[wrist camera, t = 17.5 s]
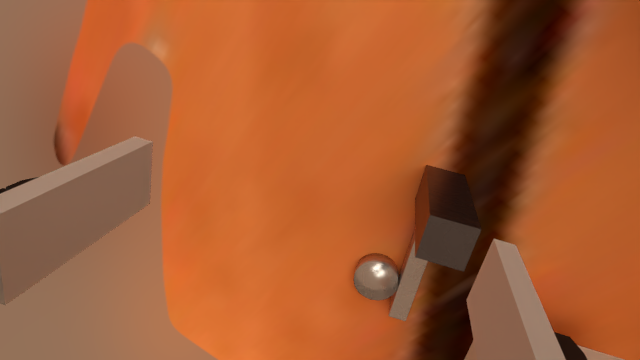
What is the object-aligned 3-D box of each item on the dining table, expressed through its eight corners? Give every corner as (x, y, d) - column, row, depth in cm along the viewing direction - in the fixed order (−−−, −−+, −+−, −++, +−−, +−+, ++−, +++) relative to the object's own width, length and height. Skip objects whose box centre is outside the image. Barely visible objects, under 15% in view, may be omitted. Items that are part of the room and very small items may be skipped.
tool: (426, 165, 43) (429, 215, 32) (464, 175, 43) (481, 229, 32) (381, 299, 50) (372, 378, 40) (414, 309, 50) (413, 391, 39)
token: (364, 246, 49) (361, 256, 47) (404, 261, 48) (404, 272, 46) (350, 279, 51) (348, 290, 48) (389, 294, 50) (388, 306, 48)
